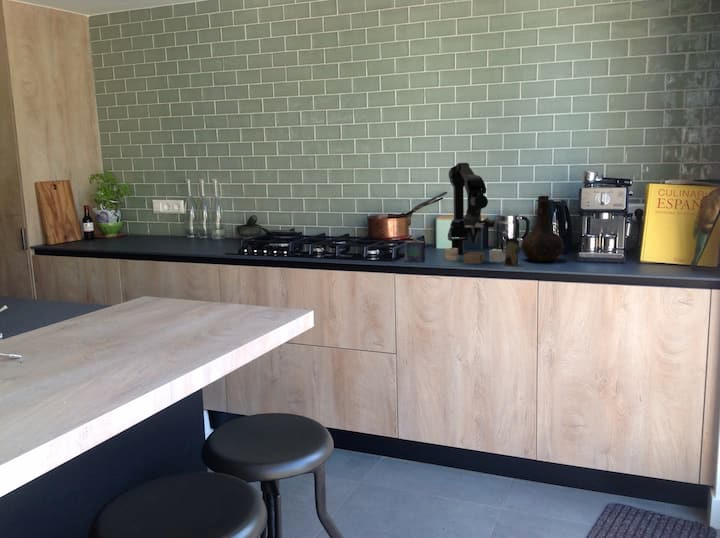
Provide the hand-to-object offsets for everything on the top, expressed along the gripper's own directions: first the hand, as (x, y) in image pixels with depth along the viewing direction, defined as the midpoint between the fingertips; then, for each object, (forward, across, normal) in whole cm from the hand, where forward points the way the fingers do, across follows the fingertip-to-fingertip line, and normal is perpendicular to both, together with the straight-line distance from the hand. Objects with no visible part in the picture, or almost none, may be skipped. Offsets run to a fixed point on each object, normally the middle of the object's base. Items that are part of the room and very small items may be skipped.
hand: (473, 242), depth 290 cm
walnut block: (+9, 0, 0) cm, 9 cm away
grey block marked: (+8, +9, +5) cm, 13 cm away
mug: (+9, +16, -3) cm, 18 cm away
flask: (+9, -25, -6) cm, 27 cm away
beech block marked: (+9, -11, +3) cm, 14 cm away
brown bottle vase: (+9, +27, +12) cm, 31 cm away
